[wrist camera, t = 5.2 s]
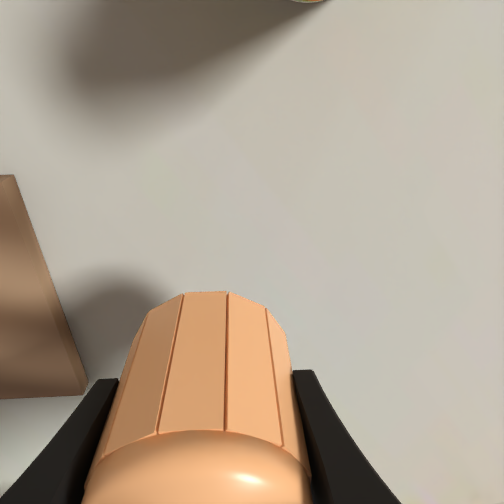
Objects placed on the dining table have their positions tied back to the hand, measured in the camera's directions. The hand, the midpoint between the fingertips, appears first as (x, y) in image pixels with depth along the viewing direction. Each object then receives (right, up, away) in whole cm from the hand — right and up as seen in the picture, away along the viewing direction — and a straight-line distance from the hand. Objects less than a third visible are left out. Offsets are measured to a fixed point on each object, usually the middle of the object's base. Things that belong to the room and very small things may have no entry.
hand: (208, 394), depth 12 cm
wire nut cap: (0, +1, +2) cm, 2 cm away
